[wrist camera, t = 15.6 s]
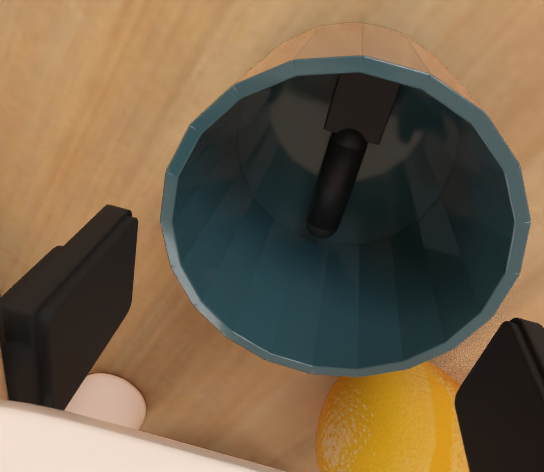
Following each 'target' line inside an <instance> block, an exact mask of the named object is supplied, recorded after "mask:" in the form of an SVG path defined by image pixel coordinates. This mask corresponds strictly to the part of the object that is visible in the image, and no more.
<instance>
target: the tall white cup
mask: <svg viewBox="0 0 544 472" xmlns="http://www.w3.org/2000/svg"><path fill="white" fill-rule="evenodd" d="M64 411H67V412H71V413H75V414H79V415H83V416H86V417H90V418H94V419H98V420H102V421H106V422H109V423H113V424H117V425H121V426H125V427H129V428H132V429H136V430H139V429H140V427H141V425H142V423H143V421H144V418H145V415H146V404H145V401H144V399H143V397H142V395H141V393H140V392H139V391H138V390H137V389H136V388H135V387H134V386H133V385H132V384H131V383H129V382H128V381H126V380H124V379H122V378H120V377H118V376H115V375H111V374H106V373H95V374H90V375H87V376H86V378H85V379H84V381H83V382H82V384H81V385H80V387H79V388H78V390H77V392H76V393H75V395H74V396H73V398H72V399H71V401H70V402H69V404H68V405H67V407H66V408H65V410H64Z"/></svg>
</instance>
